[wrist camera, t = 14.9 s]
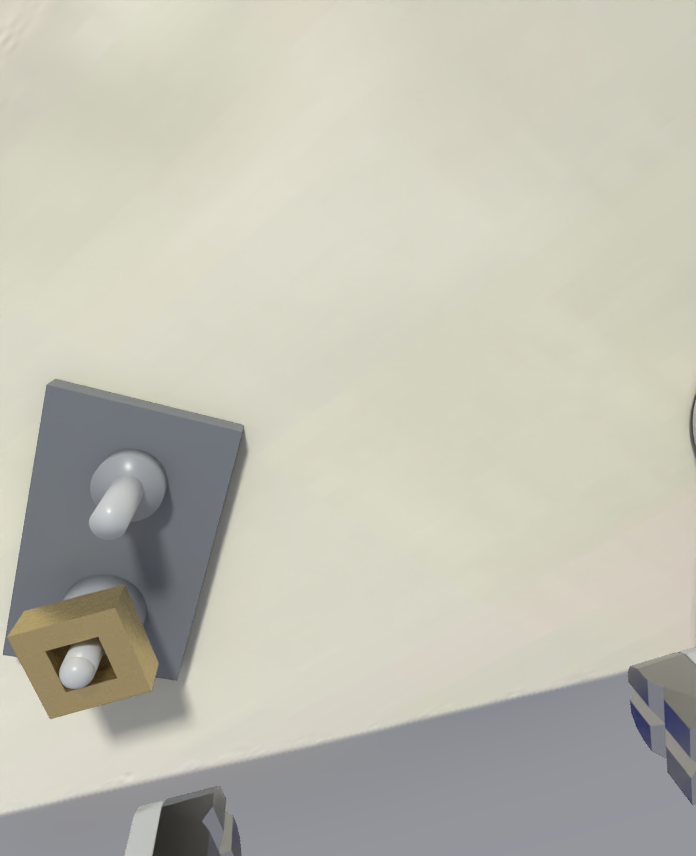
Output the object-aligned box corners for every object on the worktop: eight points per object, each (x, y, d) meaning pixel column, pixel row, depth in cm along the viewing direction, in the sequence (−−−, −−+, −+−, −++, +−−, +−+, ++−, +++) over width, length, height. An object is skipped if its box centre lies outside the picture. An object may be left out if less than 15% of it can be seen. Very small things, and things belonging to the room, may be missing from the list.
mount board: (243, 425, 39) (236, 473, 31) (179, 666, 44) (160, 761, 36) (55, 379, 36) (-6, 418, 28) (11, 640, 42) (-50, 736, 34)
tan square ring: (125, 583, 36) (115, 607, 34) (158, 663, 38) (151, 690, 36) (24, 610, 36) (6, 636, 34) (63, 689, 38) (50, 719, 36)
